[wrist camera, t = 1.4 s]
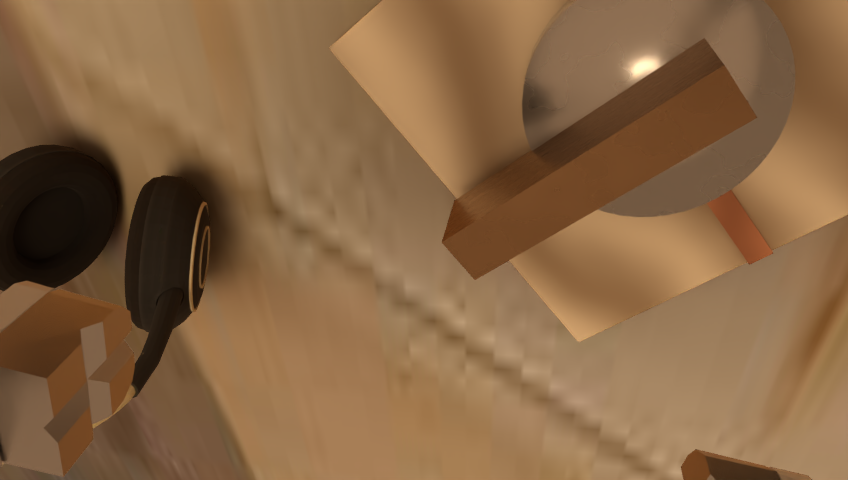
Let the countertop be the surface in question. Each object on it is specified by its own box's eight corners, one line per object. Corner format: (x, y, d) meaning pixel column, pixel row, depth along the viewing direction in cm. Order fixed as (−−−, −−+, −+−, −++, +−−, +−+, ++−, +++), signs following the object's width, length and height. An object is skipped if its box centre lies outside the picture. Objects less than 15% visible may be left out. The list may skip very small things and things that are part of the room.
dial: (702, -103, 25) (733, -93, 20) (831, 118, 28) (881, 169, 23) (403, 125, 32) (378, 169, 27) (534, 280, 35) (530, 342, 30)
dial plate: (756, -337, 22) (770, -350, 21) (984, 127, 29) (1008, 142, 27) (337, 40, 32) (327, 49, 30) (578, 325, 38) (578, 345, 37)
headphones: (22, 105, 37) (-422, 318, 20) (265, 171, 37) (13, 447, 20) (40, 228, 42) (-308, 484, 25) (257, 288, 41) (47, 593, 24)
